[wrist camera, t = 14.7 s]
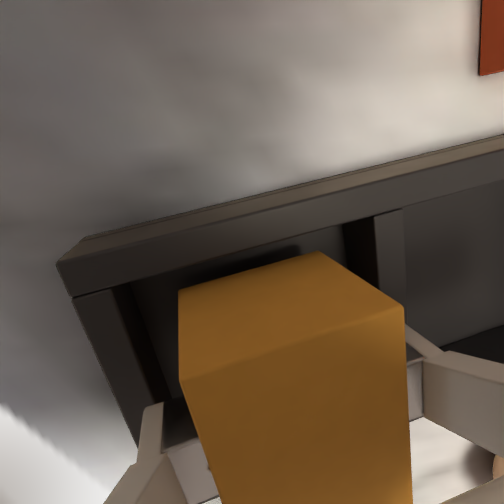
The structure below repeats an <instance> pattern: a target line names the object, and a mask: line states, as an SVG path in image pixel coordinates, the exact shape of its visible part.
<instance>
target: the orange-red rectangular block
mask: <svg viewBox="0 0 504 504" xmlns="http://www.w3.org/2000/svg"><path fill="white" fill-rule="evenodd" d="M502 71H504V0H482V26H481V53H480V75H482V76H483V75H488V74H493V73H498V72H502Z"/></svg>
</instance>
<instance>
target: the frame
mask: <svg viewBox="0 0 504 504" xmlns="http://www.w3.org/2000/svg"><path fill="white" fill-rule="evenodd" d="M314 251H320V252H322V253H323V254H325V255H326V256H328V257H329V258H331V259H332V260H334V261H335V262H337V263H338V264H340V265H342V266H343V267H345V268H346V269H348V270H349V271H351V272H352V273H354V274H355V275H357V276H358V277H360V278H361V279H363V280H364V281H366V282H367V283H369V284H371V285H372V286H374V287H375V288H377V289H378V290H380V291H381V292H383V293H384V294H386V295H387V296H389V297H390V298H392V299H393V300H395V301H397V302H398V303H400V304H401V305H402V306H403V308H404V320H405V324H406V325H407V326H409V327H410V328H412V329H413V330H414V331H416V332H417V333H419V334H420V335H421V336H423V337H424V338H425V339H427V340H428V341H430V342H431V343H432V344H434V345H435V346H437V347H438V348H439V349H441V350H442V351H444V352H447V351H453V352H457V353H461V354H465V355H469V356H473V357H477V358H481V359H485V360H489V361H493V362H497V363H501V364H504V134H503V135H499V136H495V137H491V138H487V139H483V140H479V141H475V142H471V143H467V144H462V145H458V146H454V147H450V148H446V149H442V150H438V151H434V152H430V153H426V154H422V155H418V156H414V157H410V158H405V159H401V160H397V161H393V162H389V163H385V164H381V165H377V166H373V167H369V168H365V169H361V170H357V171H353V172H348V173H344V174H340V175H336V176H332V177H328V178H324V179H320V180H316V181H312V182H308V183H304V184H300V185H295V186H291V187H287V188H283V189H279V190H275V191H271V192H267V193H263V194H259V195H255V196H251V197H247V198H243V199H238V200H234V201H230V202H226V203H222V204H218V205H214V206H210V207H206V208H202V209H198V210H194V211H190V212H186V213H181V214H177V215H173V216H169V217H165V218H161V219H157V220H153V221H149V222H145V223H141V224H137V225H133V226H129V227H124V228H120V229H116V230H112V231H108V232H104V233H100V234H96V235H92V236H88V237H85V238H83V239H82V240H81V241H80V242H79V243H78V244H77V245H76V246H75V247H73V248H72V249H71V250H70V251H69V252H68V253H67V254H65V255H64V256H63V257H62V258H61V259H60V260H59V261H57V262H56V267H57V269H58V272H59V274H60V276H61V278H62V281H63V283H64V285H65V287H66V289H67V292H68V294H69V296H70V297H73V298H72V303H73V306H74V308H75V310H76V312H77V315H78V317H79V319H80V321H81V323H82V326H83V328H84V330H85V332H86V335H87V337H88V339H89V341H90V344H91V346H92V348H93V350H94V352H95V355H96V357H97V359H98V361H99V364H100V366H101V368H102V370H103V372H104V375H105V377H106V379H107V381H108V384H109V386H110V388H111V390H112V392H113V395H114V397H115V399H116V401H117V404H118V406H119V408H120V410H121V412H122V415H123V417H124V419H125V421H126V424H127V426H128V428H129V430H130V432H131V435H132V437H133V439H134V441H135V444H136V446H137V448H138V447H139V440H140V433H141V425H142V418H143V412H144V410H145V408H146V407H148V406H151V405H154V404H158V403H161V402H165V401H166V400H169V399H173V398H176V397H179V396H182V395H184V394H183V391H182V388H181V385H180V382H179V343H178V291H179V290H180V289H183V288H186V287H190V286H194V285H197V284H201V283H204V282H208V281H211V280H215V279H218V278H222V277H226V276H229V275H233V274H236V273H240V272H243V271H247V270H250V269H254V268H257V267H261V266H265V265H268V264H272V263H275V262H279V261H282V260H286V259H289V258H293V257H297V256H300V255H304V254H307V253H311V252H314ZM422 417H424V415H423V416H421V417H418V418H415V419H412V420H409V422H411V421H414V420H416V419H419V418H422ZM218 497H220V496H219V495H216V496H214V497H212V498H209V499H207V500H205V501H202V502H200V503H198V504H202V503H205V502H207V501H210V500H212V499H215V498H218Z"/></svg>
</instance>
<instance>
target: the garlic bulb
mask: <svg viewBox="0 0 504 504" xmlns="http://www.w3.org/2000/svg"><path fill="white" fill-rule="evenodd" d="M503 475H504V458H502V457H500V456H498V455H496V456H495V458H494V462H493V480H494V479H496V478H498V477H501V476H503Z"/></svg>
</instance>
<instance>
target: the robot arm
mask: <svg viewBox="0 0 504 504" xmlns="http://www.w3.org/2000/svg"><path fill="white" fill-rule="evenodd" d="M405 342H406V364H407V386H408V408H409V420H412V419H415V418H418V417H421V416H423V415H424V418H426V419H428V420H430V421H432V422H434V423H436V424H438V425H440V426H442V427H444V428H446V429H448V430H450V431H452V432H454V433H455V434H457V435H459V436H461V437H463V438H465V439H467V440H469V441H471V442H473V443H475V444H477V445H479V446H481V447H483V448H485V449H486V450H488V451H490V452H492V453H494V454H496V455H498V456H500V457H502V458H504V364H501V363H497V362H493V361H489V360H485V359H481V358H477V357H473V356H469V355H465V354H461V353H457V352H453V351H447V352H444V351H442V350H441V349H439V348H438V347H437V346H435V345H434V344H432V343H431V342H430V341H428V340H427V339H425V338H424V337H423V336H421V335H420V334H419V333H417V332H416V331H414V330H413V329H412V328H410V327H409V326H407V325H406V324H405ZM216 495H219V493H218V490H217V488H216V485H215V482H214V479H213V476H212V473H211V470H210V468H209V465H208V462H207V459H206V456H205V453H204V451H203V448H202V445H201V442H200V439H199V436H198V433H197V431H196V428H195V425H194V422H193V419H192V416H191V414H190V411H189V408H188V405H187V402H186V399H185V396H184V395H182V396H179V397H176V398H173V399H169V400H166V401H165V402H161V403H158V404H154V405H151V406H148V407H146V408H145V410H144V412H143V418H142V425H141V433H140V440H139V447H138V455H137V462H136V463H135V464H133V465H130V466H129V468H128V469H127V471H126V472H125V474H124V475H123V476H122V478H121V479H120V481H119V482H118V484H117V485H116V486H115V488H114V489H113V491H112V492H111V493H110V495H109V496H108V498H107V500H106V501H105V502H104V503H103V504H198V503H200V502H202V501H205V500H207V499H209V498H212V497H214V496H216ZM440 504H504V475H503V476H501V477H498V478H496V479H494V480H492V481H489V482H487V483H485V484H483V485H480V486H478V487H476V488H474V489H471V490H469V491H467V492H465V493H462V494H460V495H458V496H456V497H453V498H451V499H449V500H447V501H444V502H442V503H440Z"/></svg>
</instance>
